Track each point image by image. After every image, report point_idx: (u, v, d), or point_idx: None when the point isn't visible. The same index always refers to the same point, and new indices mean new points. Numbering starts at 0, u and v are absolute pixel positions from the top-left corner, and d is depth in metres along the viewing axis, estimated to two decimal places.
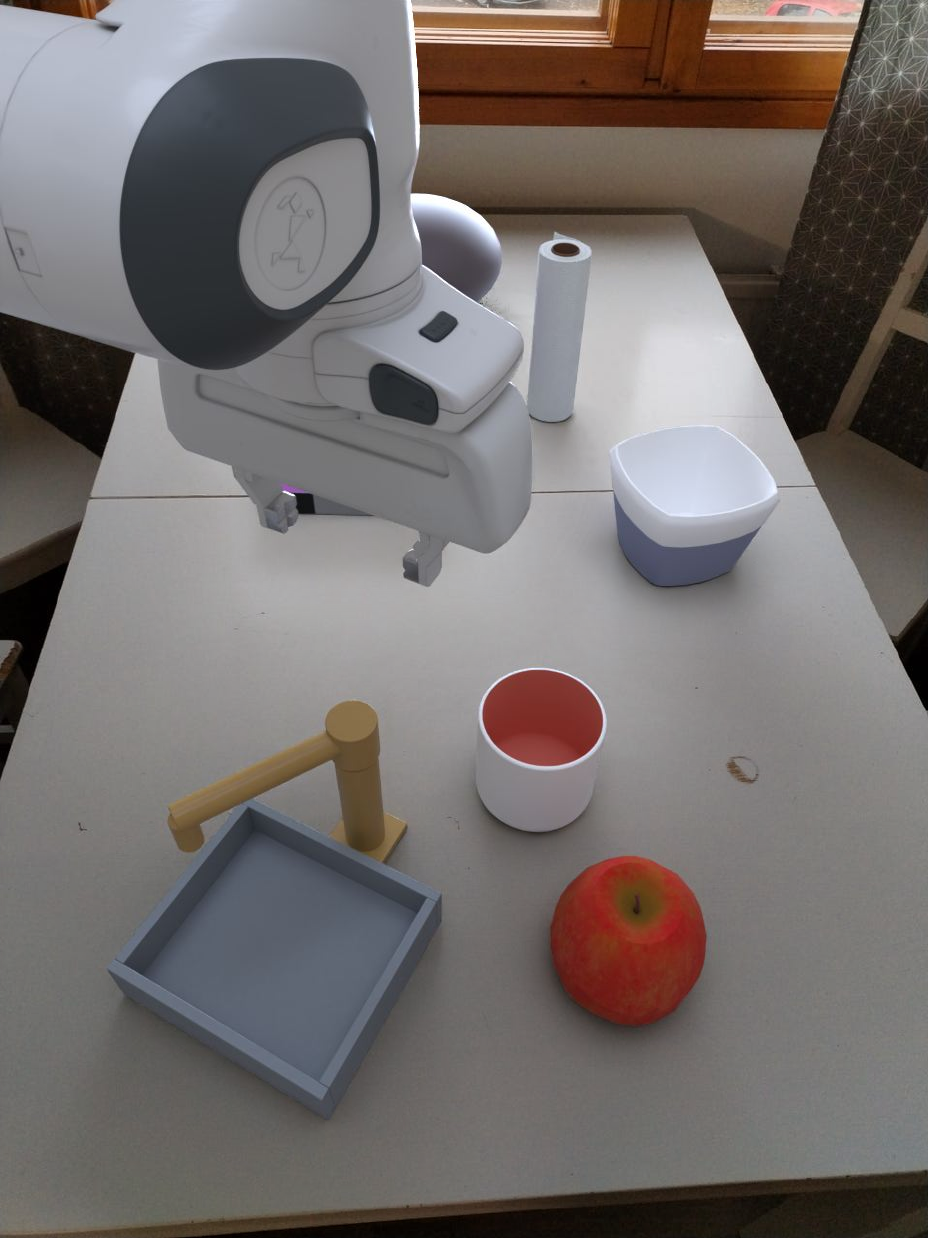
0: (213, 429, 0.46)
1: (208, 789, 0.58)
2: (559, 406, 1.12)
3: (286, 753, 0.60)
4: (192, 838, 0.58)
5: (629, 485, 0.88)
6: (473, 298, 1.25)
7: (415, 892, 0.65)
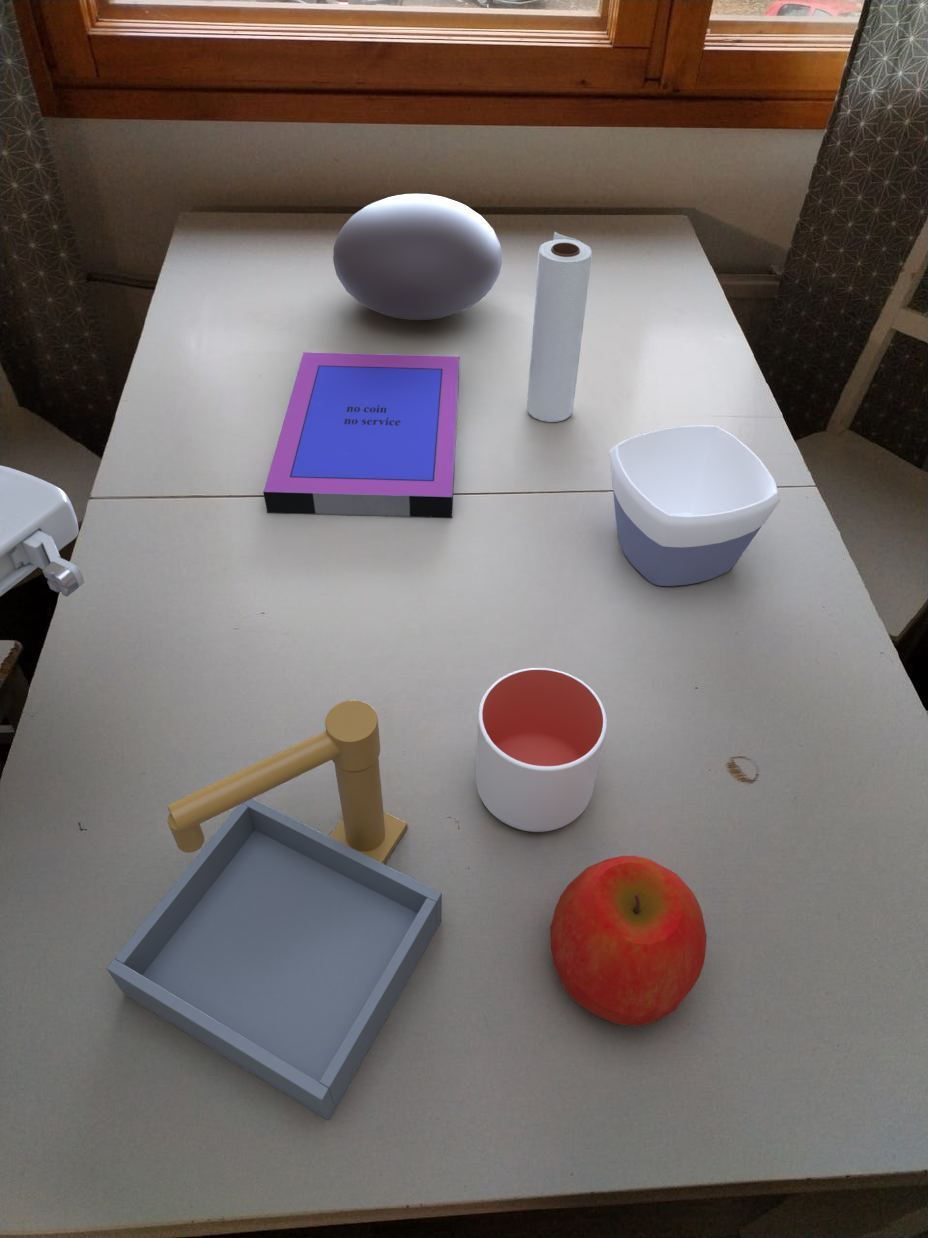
0: None
1: (208, 789, 0.58)
2: (559, 406, 1.12)
3: (286, 753, 0.60)
4: (192, 838, 0.58)
5: (629, 485, 0.88)
6: (473, 298, 1.25)
7: (415, 892, 0.65)
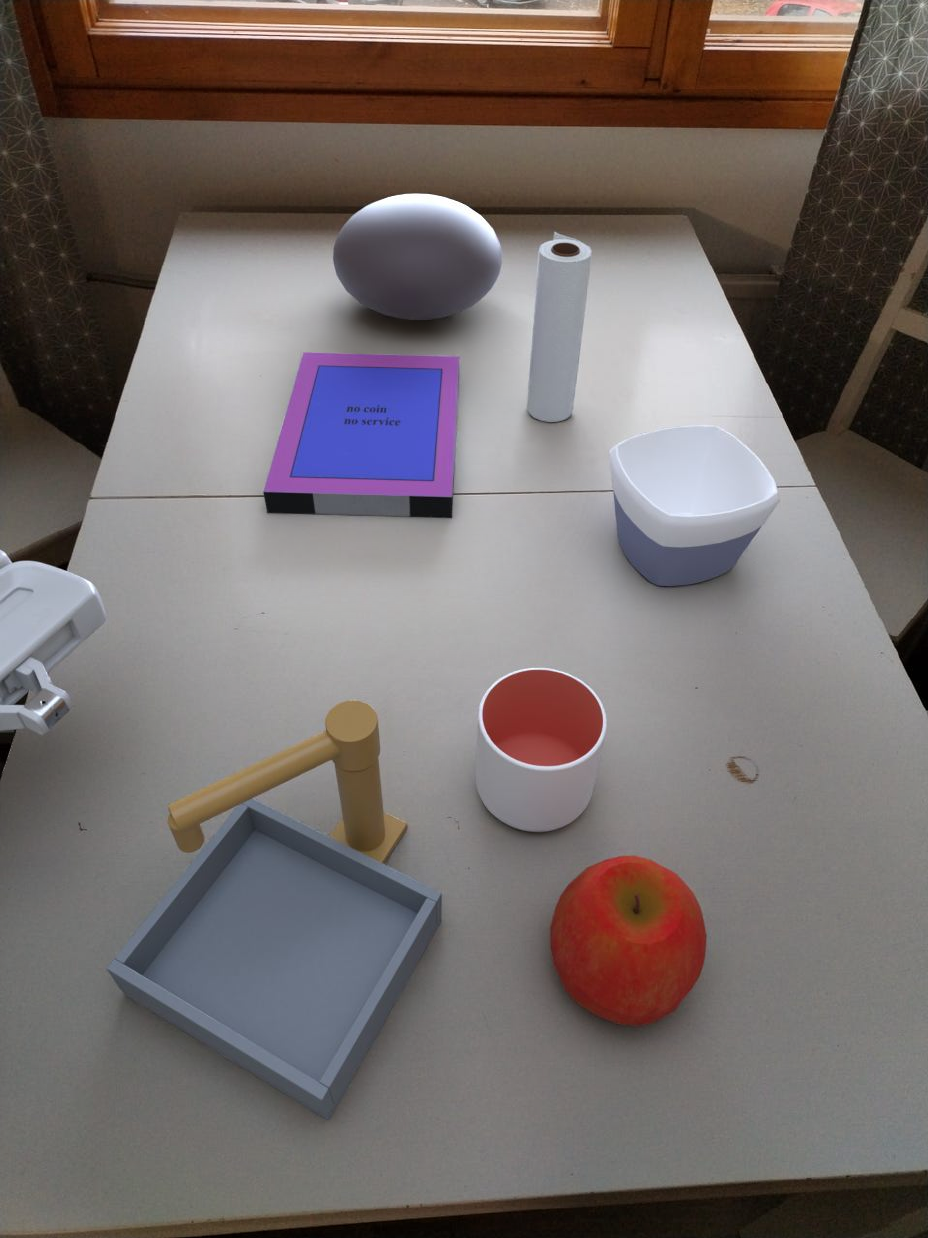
0: None
1: (208, 789, 0.58)
2: (559, 406, 1.12)
3: (286, 753, 0.60)
4: (192, 838, 0.58)
5: (629, 485, 0.88)
6: (473, 298, 1.25)
7: (415, 892, 0.65)
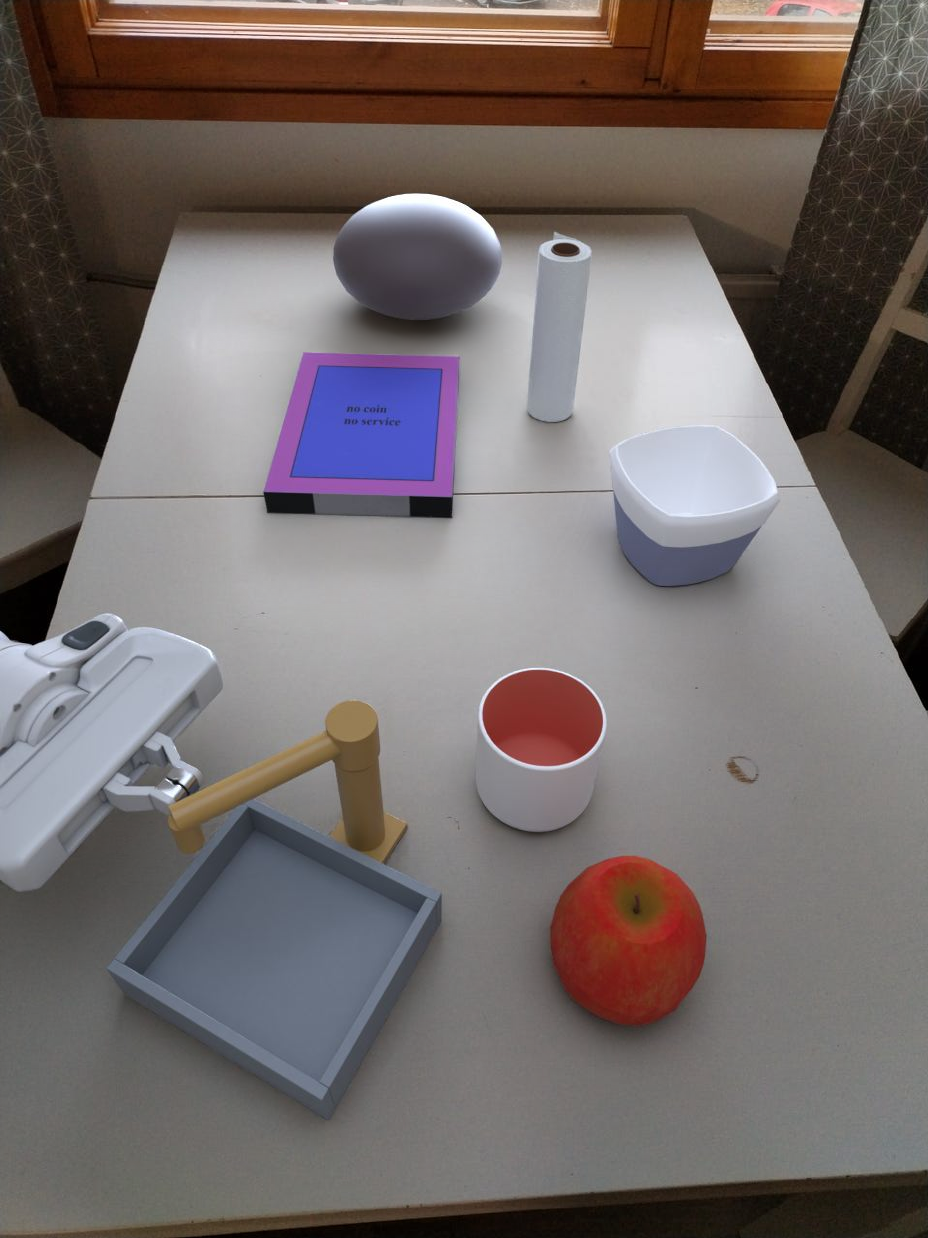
0: (27, 813, 0.56)
1: (209, 789, 0.58)
2: (559, 406, 1.12)
3: (286, 753, 0.60)
4: (192, 839, 0.58)
5: (629, 485, 0.88)
6: (473, 298, 1.25)
7: (415, 892, 0.65)
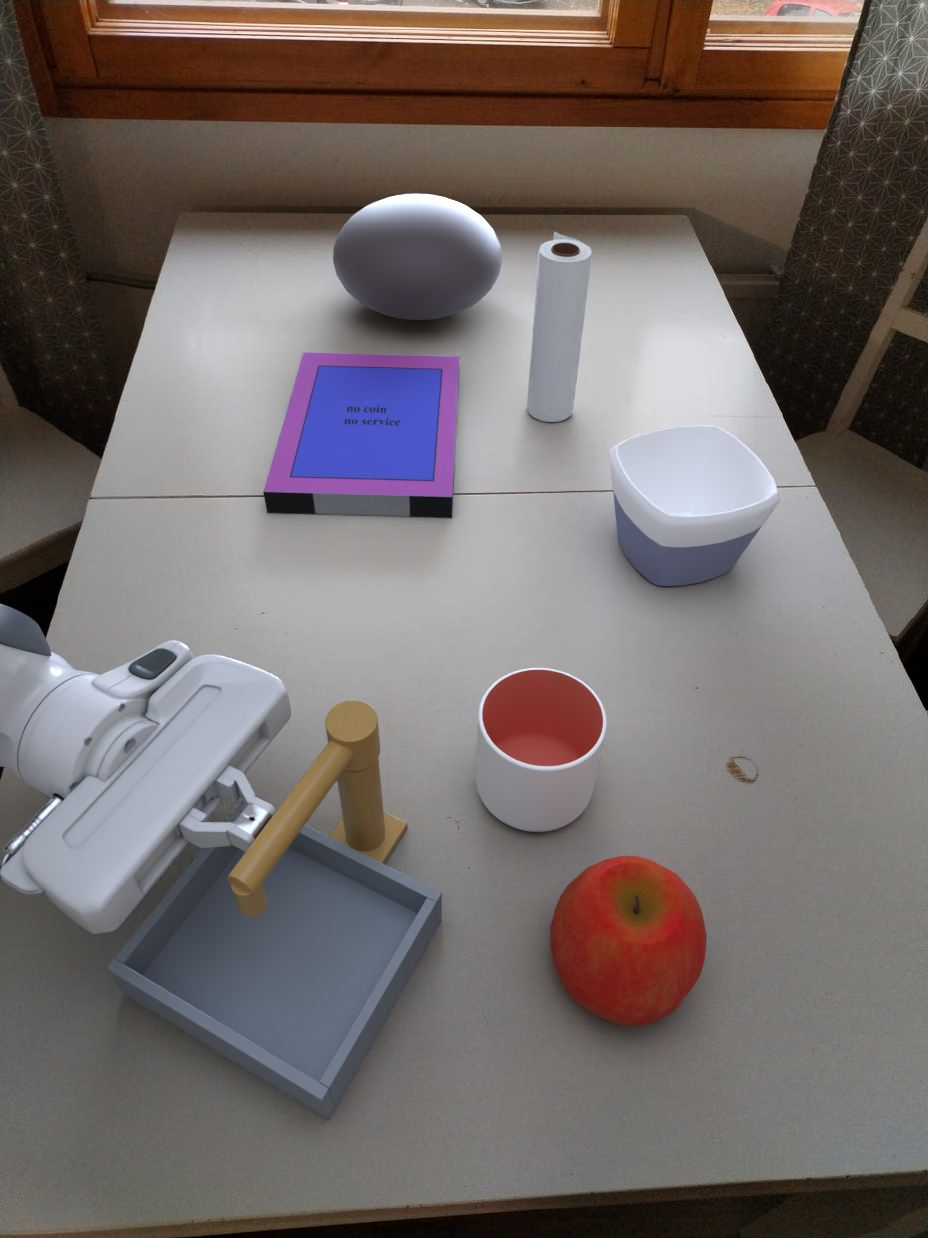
0: (103, 853, 0.54)
1: (260, 841, 0.55)
2: (559, 406, 1.12)
3: (310, 776, 0.59)
4: (261, 897, 0.56)
5: (629, 485, 0.88)
6: (473, 298, 1.25)
7: (415, 892, 0.65)
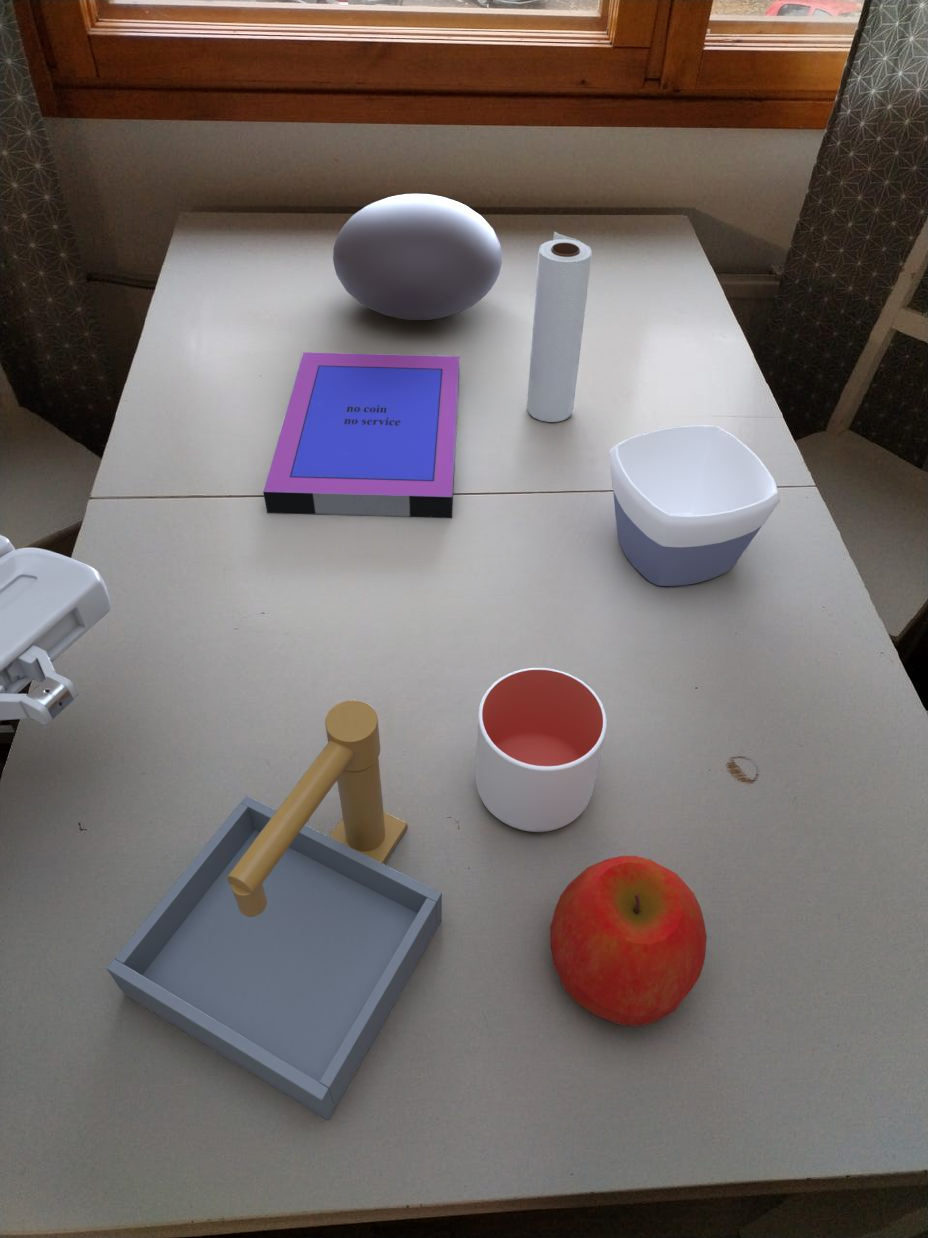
0: None
1: (260, 841, 0.55)
2: (559, 406, 1.12)
3: (310, 776, 0.59)
4: (261, 897, 0.56)
5: (629, 485, 0.88)
6: (473, 298, 1.25)
7: (415, 892, 0.65)
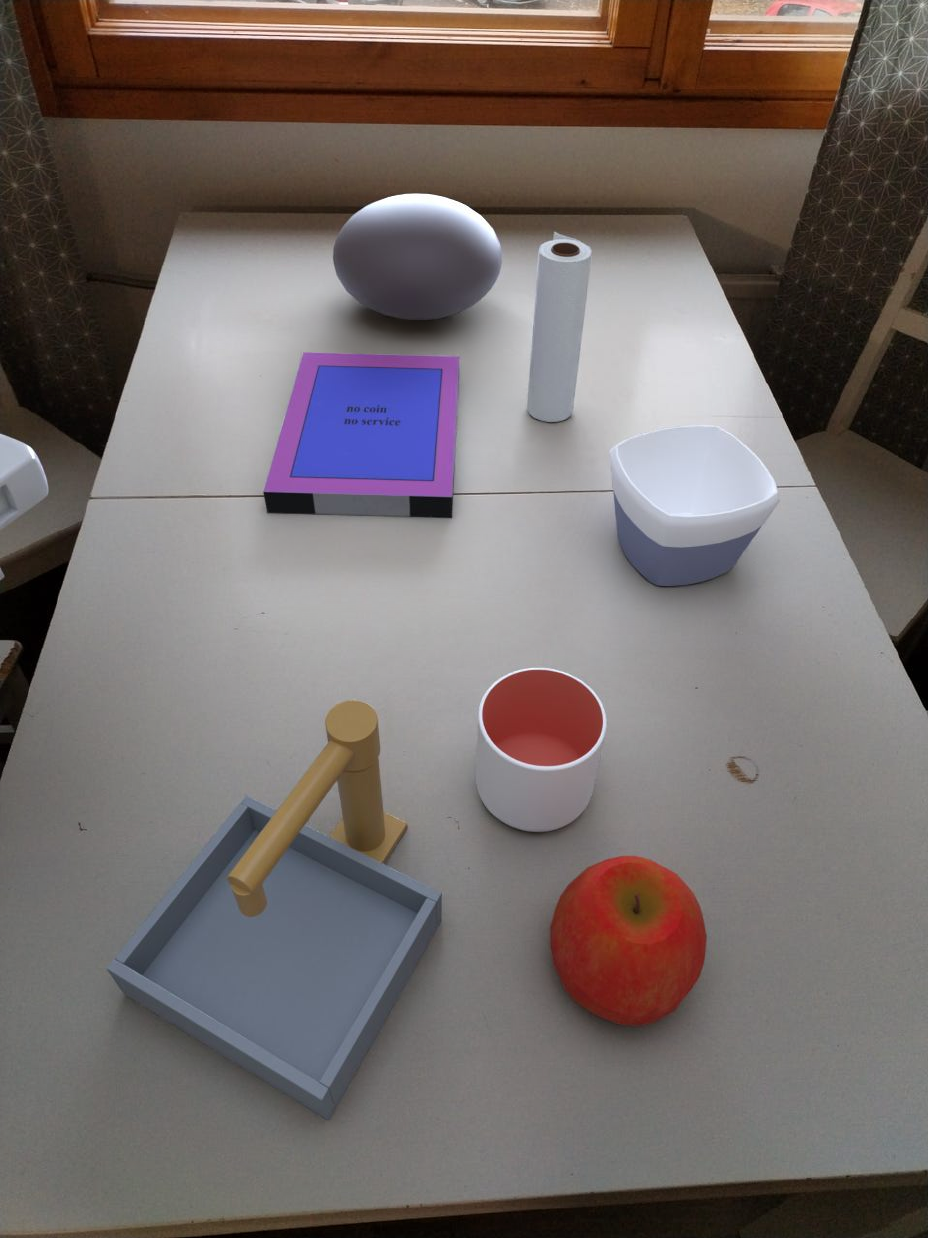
0: None
1: (260, 841, 0.55)
2: (559, 406, 1.12)
3: (310, 776, 0.59)
4: (261, 897, 0.56)
5: (629, 485, 0.88)
6: (473, 298, 1.25)
7: (415, 892, 0.65)
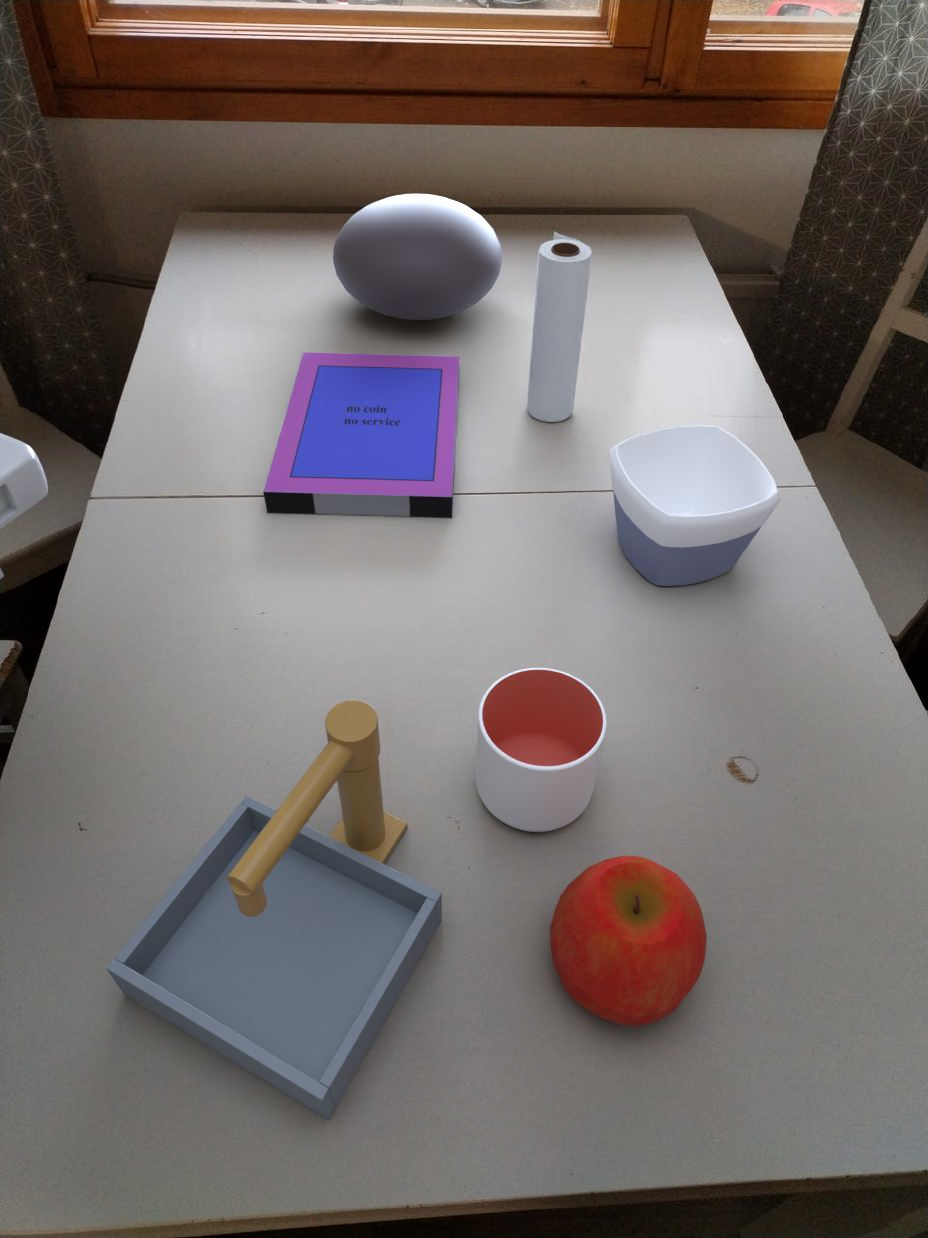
0: None
1: (260, 841, 0.55)
2: (559, 406, 1.12)
3: (310, 776, 0.59)
4: (261, 897, 0.56)
5: (629, 485, 0.88)
6: (473, 298, 1.25)
7: (415, 892, 0.65)
